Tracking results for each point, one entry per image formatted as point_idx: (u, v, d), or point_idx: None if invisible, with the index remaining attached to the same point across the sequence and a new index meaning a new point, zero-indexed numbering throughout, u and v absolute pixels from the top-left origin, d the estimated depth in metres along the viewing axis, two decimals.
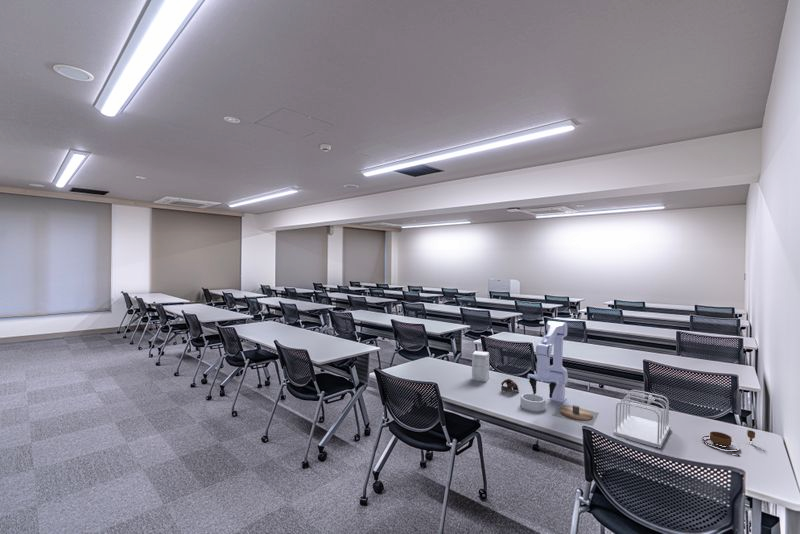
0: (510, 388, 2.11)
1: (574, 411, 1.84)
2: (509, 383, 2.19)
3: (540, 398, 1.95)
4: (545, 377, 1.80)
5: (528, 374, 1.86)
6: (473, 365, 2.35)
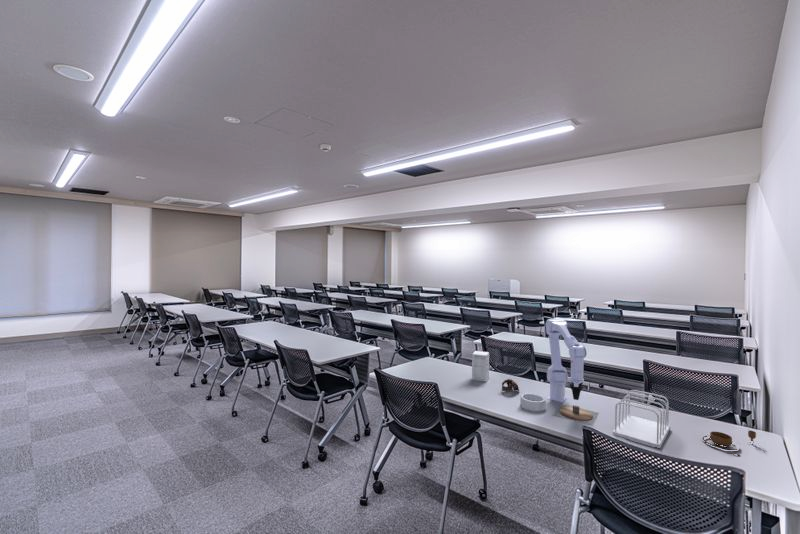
0: (511, 388, 2.11)
1: (574, 411, 1.84)
2: (510, 383, 2.19)
3: (540, 398, 1.95)
4: (572, 378, 1.84)
5: None
6: (473, 365, 2.35)
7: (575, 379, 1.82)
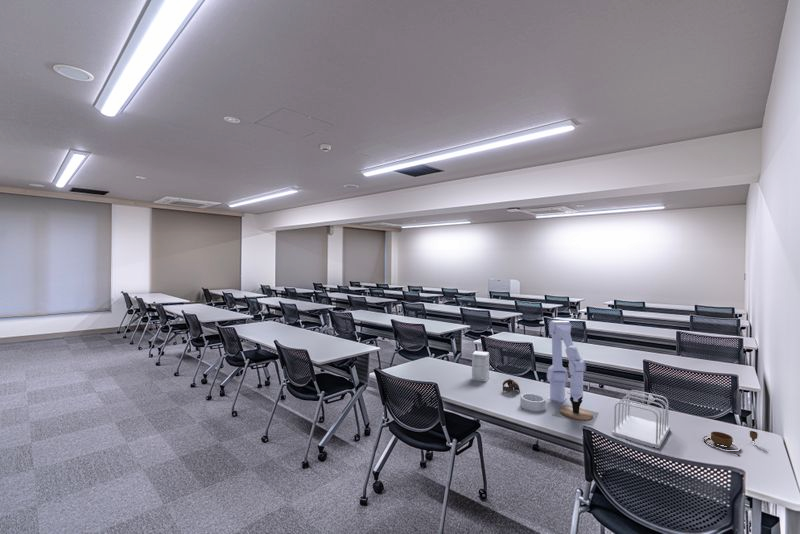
0: (511, 388, 2.10)
1: None
2: (510, 383, 2.18)
3: (540, 398, 1.95)
4: (571, 392, 1.84)
5: None
6: (473, 365, 2.35)
7: (575, 393, 1.82)
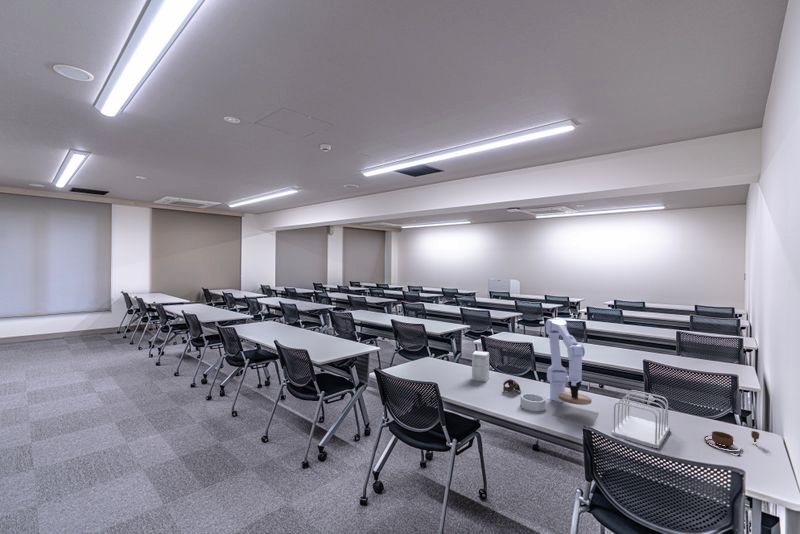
0: (512, 388, 2.10)
1: None
2: (511, 383, 2.18)
3: (540, 398, 1.95)
4: (570, 376, 1.84)
5: None
6: (473, 365, 2.35)
7: (573, 378, 1.82)
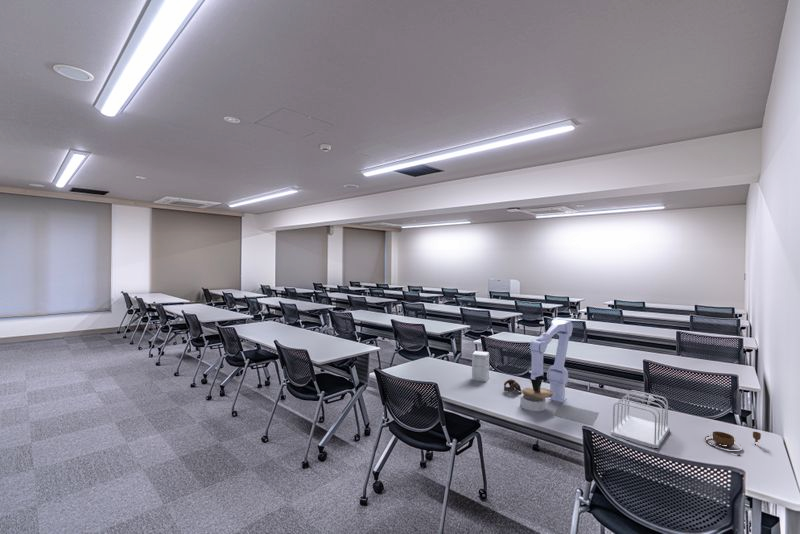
0: (513, 388, 2.10)
1: None
2: (512, 383, 2.18)
3: (540, 398, 1.95)
4: (531, 371, 1.92)
5: None
6: (473, 365, 2.35)
7: (534, 372, 1.90)
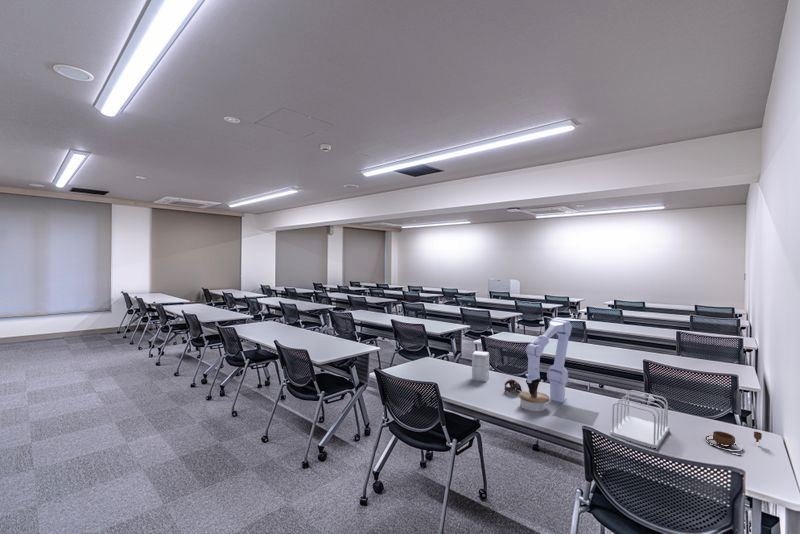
0: (514, 389, 2.10)
1: None
2: (512, 383, 2.18)
3: None
4: (528, 374, 1.93)
5: None
6: (473, 365, 2.35)
7: (530, 376, 1.91)
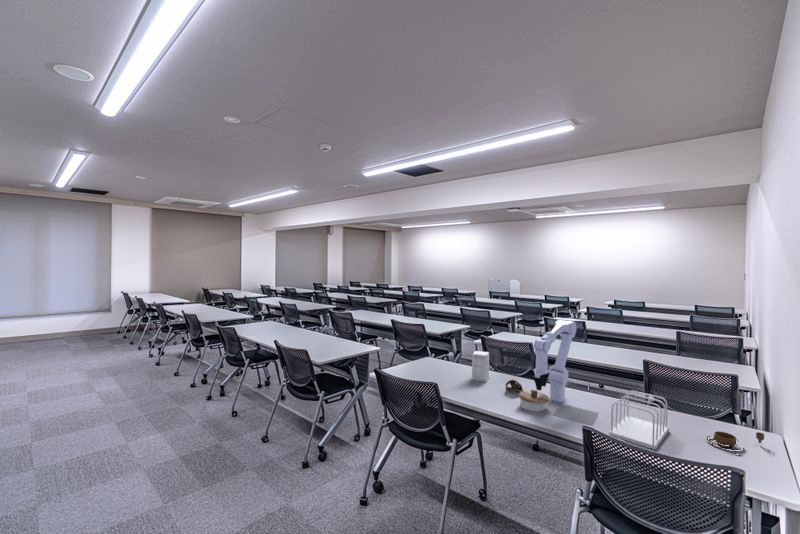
0: (515, 389, 2.10)
1: (532, 395, 1.92)
2: (513, 384, 2.18)
3: None
4: (536, 369, 1.95)
5: None
6: (473, 365, 2.35)
7: (538, 371, 1.93)
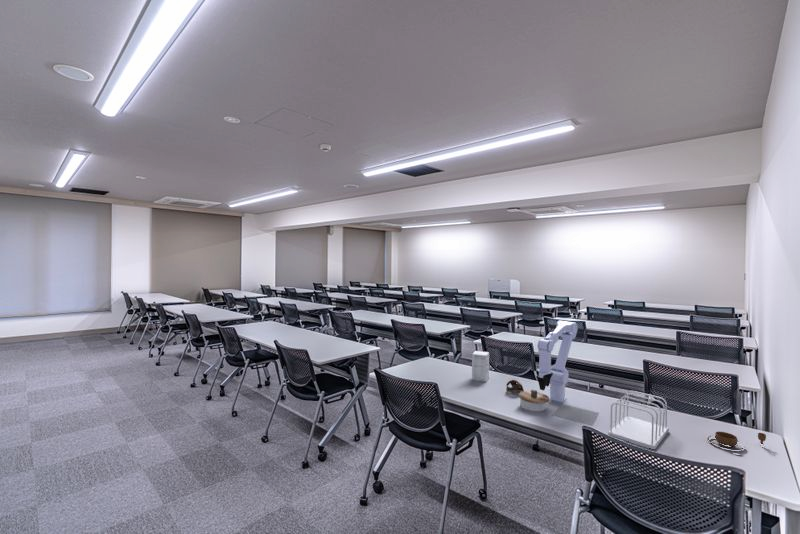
0: (515, 389, 2.09)
1: (532, 395, 1.92)
2: (514, 384, 2.17)
3: None
4: (539, 369, 1.95)
5: None
6: (473, 365, 2.35)
7: (542, 371, 1.94)
